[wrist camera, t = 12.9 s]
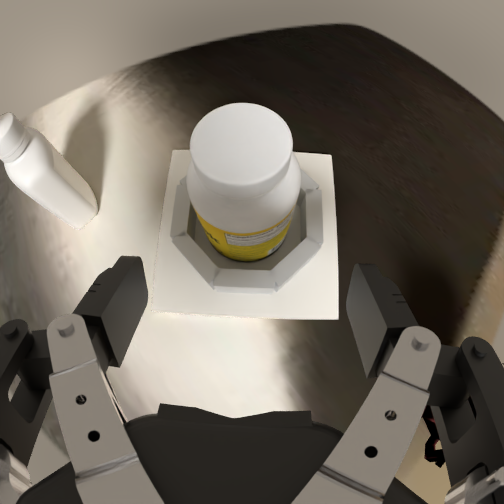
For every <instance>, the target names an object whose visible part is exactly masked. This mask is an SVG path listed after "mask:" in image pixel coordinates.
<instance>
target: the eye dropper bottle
mask: <svg viewBox="0 0 504 504" xmlns="http://www.w3.org/2000/svg"><path fill="white" fill-rule="evenodd" d="M0 159H1V160H2V161H3V162H4V165H5V169H6V172H7V174H8V176H9V178H10V179H11V180H12V182H13V183H14V184H15V185H16V186H17V187H18V188H19V189H21V190H22V191H23V192H24V193H26V194H27V195H28V196H29V197H31V198H32V199H33V200H35V201H36V202H37V203H39V204H40V205H41V206H43V207H44V208H45V209H47V210H48V211H50V212H51V213H52V214H54V215H55V216H56V217H58V218H59V219H61V220H62V221H64V222H65V223H66V224H68V225H69V226H71V227H73V228H74V229H77V230H81V229H82V228H84V227H85V226H86V225H87V224H88V223H89V222H90V221H91V220H92V219H93V218H94V217H95V216H96V214H97V212H98V206H97V202H96V198H95V195H94V193H93V191H92V189H91V187H90V186H89V185H88V183H87V182H86V181H85V180H84V179H83V178H82V177H81V176H80V175H79V174H78V173H77V171H76V170H75V169H74V168H73V167H72V166H71V165H70V164H69V163H68V162H67V161H66V160H65V159H64V157H63V156H62V155H61V154H60V153H59V152H58V151H57V150H56V149H55V148H54V146H53V145H52V144H51V143H50V142H49V141H48V140H47V139H46V137H45V136H44V135H43V134H42V133H40V132H39V131H38V130H36V129H34V128H30V127H24V125H23V124H22V123H21V122H20V121H19V120H18V119H17V118H16V116H15V115H14V114H13V113H11V112H10V113H5V114H3V115H2V116H0Z"/></svg>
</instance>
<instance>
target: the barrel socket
mask: <svg viewBox="0 0 504 504" xmlns="http://www.w3.org/2000/svg"><path fill="white" fill-rule="evenodd" d="M293 153H294V154H295V156H296V158H297V160H298V163H299V166H300V170H301V187H300V192H299V196H298V199H297V203H296V206H295V209H294V212H293V216H292V219H291V222H290V226H289V229H288V232H287V235H286V238H285V240H284V242H283V244H282V245H281V247H280V248H279V249H278V250H277V251H276V252H275V253H274V254H273V255H272V256H270V257H268V258H267V259H265V260H262V261H259V262H255V263H237V262H233V261H231V260H228V259H226V258H225V257H223V256H221V255H220V254H219V253H218V252H217V251H216V250H215V249H214V248H213V246H212V245H211V243H210V242H209V240H208V238H207V236H206V233H205V231H204V229H203V227H202V225H201V223H200V221H199V219H198V216H197V214H196V212H195V210H194V208H193V205H192V203H191V200H190V198H189V195H188V191H187V184H186V177H187V170H188V166H189V163H190V161H191V159H192V158H191V154H190V150H173V151H172V157H171V162H170V167H169V173H168V179H167V185H166V191H165V197H164V203H163V210H162V216H161V223H160V231H159V238H158V246H157V255H156V263H155V273H154V283H153V293H152V305H151V311H153V312H163V313H175V314H188V315H203V316H220V317H240V318H265V319H311V320H336V319H338V251H337V227H336V209H335V194H334V180H333V168H332V157H331V155H325V154H313V153H300V152H293Z"/></svg>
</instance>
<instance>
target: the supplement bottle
mask: <svg viewBox="0 0 504 504" xmlns="http://www.w3.org/2000/svg"><path fill="white" fill-rule="evenodd" d="M292 148H293V141H292V135H291V132H290V129H289V127H288V126H287V124H286V123H285V121H284V120H283V119H282V118H281V117H280V116H279V115H278V114H276V113H275V112H273V111H272V110H270V109H268V108H266V107H263V106H260V105H257V104H251V103H234V104H228V105H225V106H222V107H219V108H217V109H215V110H213V111H211V112H210V113H208V114H207V115H206V116H204V117H203V118H202V119H201V120H200V121H199V123H198V124H197V125H196V127H195V129H194V130H193V133H192V135H191V140H190V154H191V158H192V159H191V161H190V163H189V166H188V170H187V177H186V184H187V191H188V195H189V198H190V200H191V203H192V205H193V208H194V210H195V212H196V214H197V216H198V219H199V221H200V223H201V225H202V227H203V229H204V231H205V233H206V236H207V238H208V240H209V242H210V243H211V245H212V246H213V248H214V249H215V250H216V251H217V252H218V253H219V254H220V255H221V256H223V257H225V258H226V259H228V260H231V261H233V262H237V263H255V262H259V261H262V260H265V259H267V258H268V257H270V256H272V255H273V254H274V253H275V252H276V251H277V250H278V249H279V248H280V247H281V245H282V244H283V242H284V240H285V238H286V235H287V232H288V229H289V226H290V222H291V219H292V216H293V212H294V209H295V206H296V203H297V199H298V196H299V192H300V187H301V170H300V166H299V163H298V160H297V158H296V156H295V154H294V153H293V151H292Z"/></svg>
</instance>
